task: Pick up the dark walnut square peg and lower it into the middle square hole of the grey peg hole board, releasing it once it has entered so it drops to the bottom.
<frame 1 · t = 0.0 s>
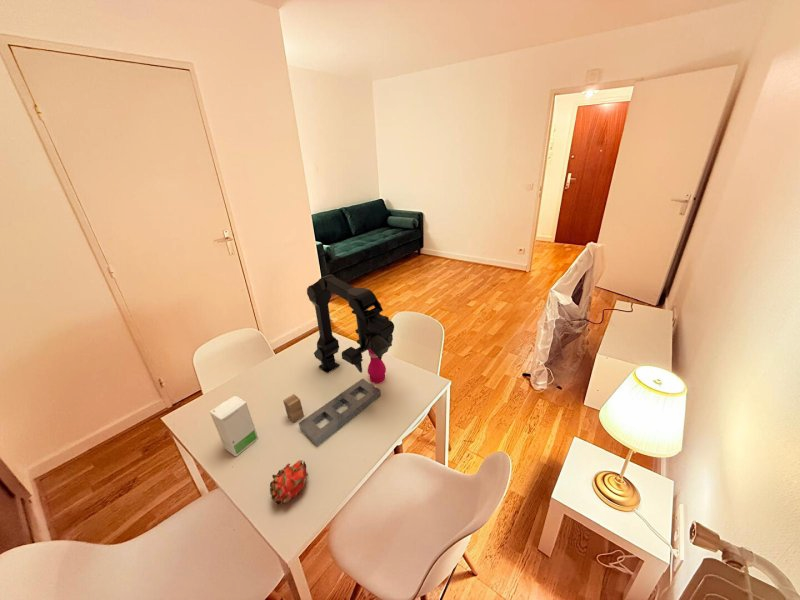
hand: (370, 365, 105), 15 cm above the table, tool pointing down, fingers open, 9 cm apart
skincare box: (242, 443, 96), on the table
dragon fruit: (292, 489, 82), on the table
grey peg hole board: (342, 411, 105), on the table
pepper mill: (377, 378, 120), on the table
walnut peg: (296, 416, 104), on the table
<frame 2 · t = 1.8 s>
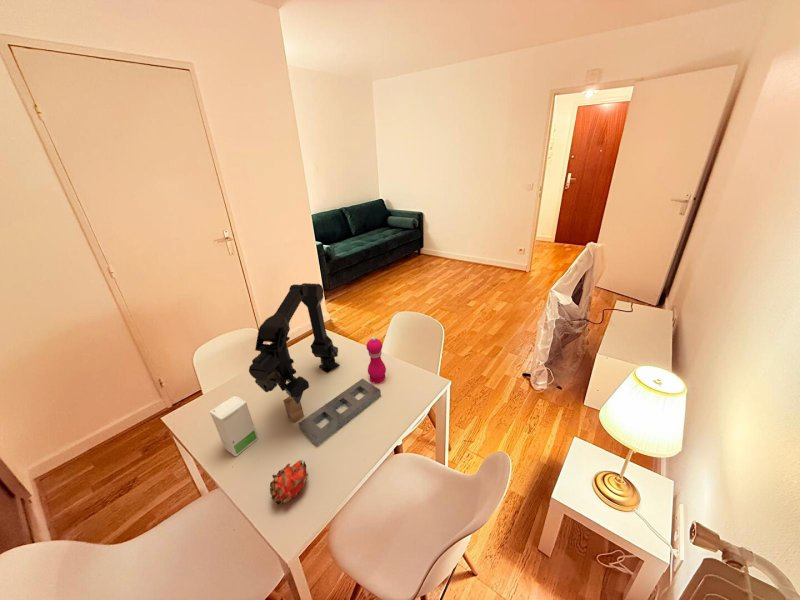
hand: (290, 396, 100), 9 cm above the table, tool pointing down, fingers open, 9 cm apart
nothing on the table moved.
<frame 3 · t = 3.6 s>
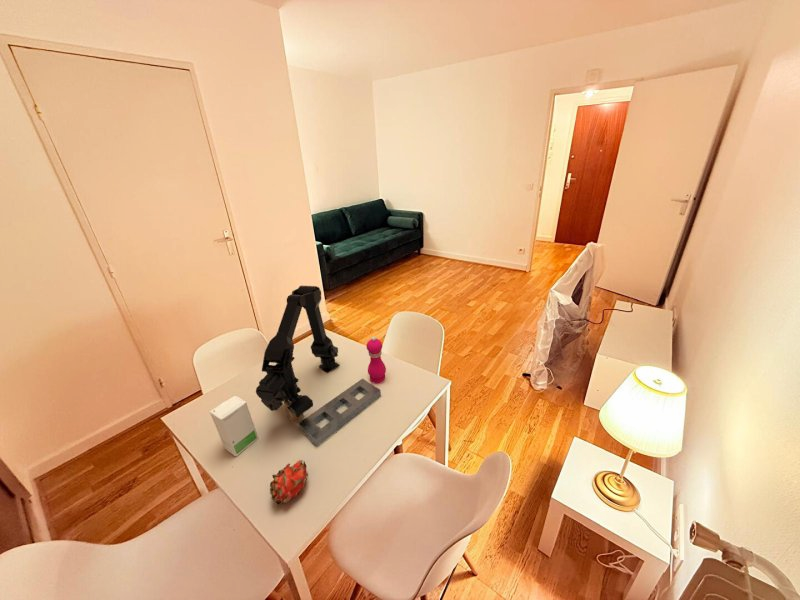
hand: (295, 413, 103), 2 cm above the table, tool pointing down, fingers closed on walnut peg, 4 cm apart
walnut peg: (296, 416, 104), on the table, touching gripper
everything else where it was.
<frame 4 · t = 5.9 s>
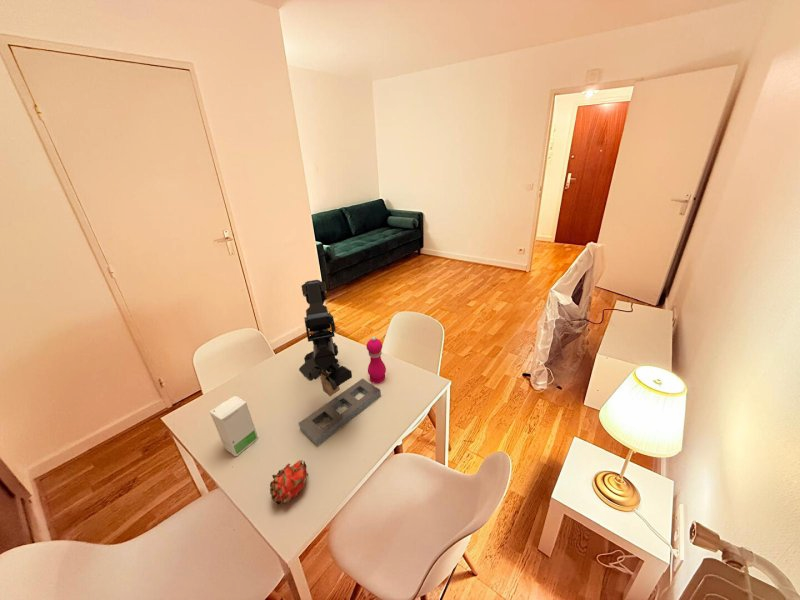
hand: (331, 386, 100), 12 cm above the table, tool pointing down, fingers closed on walnut peg, 4 cm apart
walnut peg: (331, 390, 100), point 10 cm above the table, touching gripper
everything else where it was.
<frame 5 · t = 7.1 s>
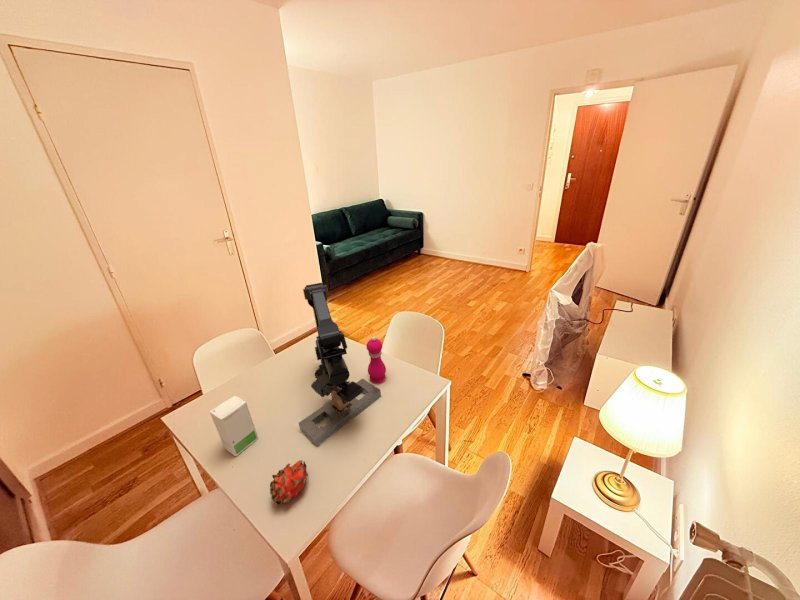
hand: (340, 400, 103), 5 cm above the table, tool pointing down, fingers closed on walnut peg, 4 cm apart
walnut peg: (341, 404, 104), point 4 cm above the table, touching gripper
everything else where it was.
when the fingers open (4 cm above the table, at t = 8.1 s): walnut peg drops 2 cm, resting in grey peg hole board.
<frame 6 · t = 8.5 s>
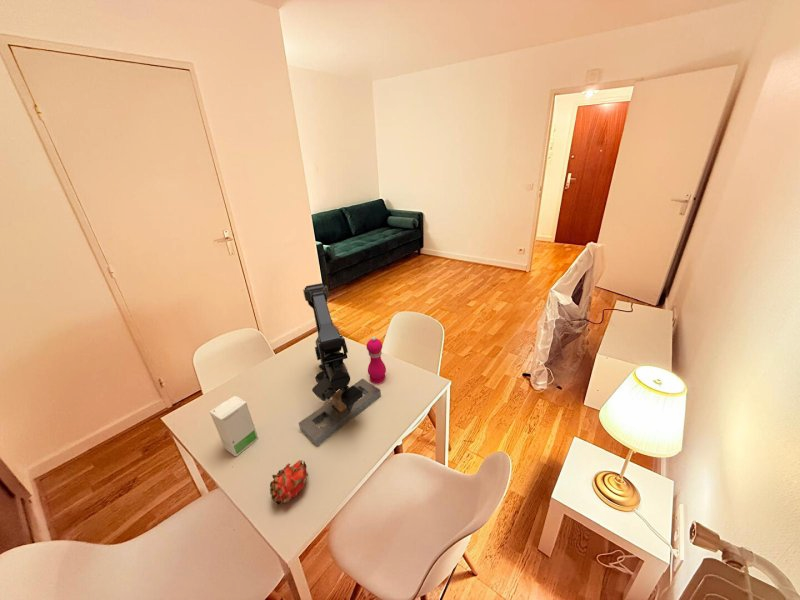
hand: (341, 404, 104), 4 cm above the table, tool pointing down, fingers open, 9 cm apart
walnut peg: (342, 411, 105), resting in grey peg hole board
everything else where it was.
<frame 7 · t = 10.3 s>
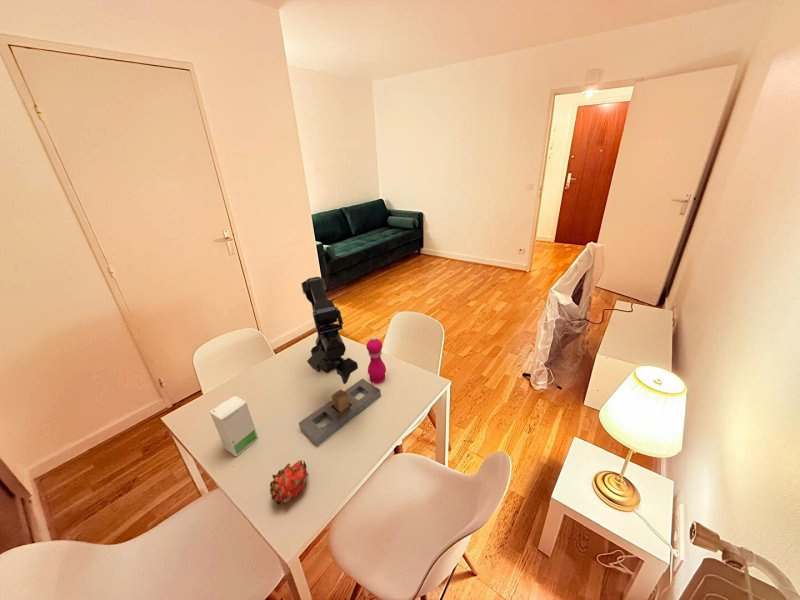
hand: (336, 377, 104), 12 cm above the table, tool pointing down, fingers open, 9 cm apart
nothing on the table moved.
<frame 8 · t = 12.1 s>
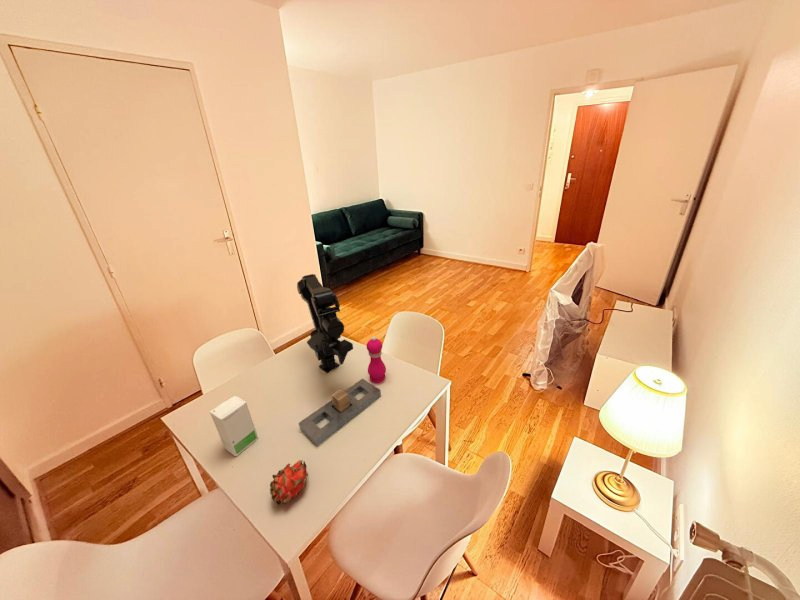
hand: (334, 359, 113), 12 cm above the table, tool pointing down, fingers open, 9 cm apart
nothing on the table moved.
at the end: walnut peg 0.1 cm off-centre on the grey peg hole board, point 0.0 cm above the grey peg hole board's base; walnut peg tilted 0°; the gripper is holding nothing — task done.
